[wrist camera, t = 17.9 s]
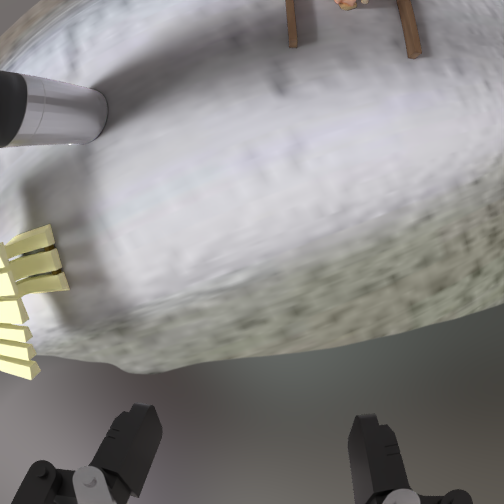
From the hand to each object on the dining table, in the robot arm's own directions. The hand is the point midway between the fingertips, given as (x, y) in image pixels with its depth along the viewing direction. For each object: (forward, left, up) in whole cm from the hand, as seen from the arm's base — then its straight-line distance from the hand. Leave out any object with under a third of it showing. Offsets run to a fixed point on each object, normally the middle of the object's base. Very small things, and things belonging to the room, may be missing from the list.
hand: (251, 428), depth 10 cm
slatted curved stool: (-48, -5, -32) cm, 58 cm away
